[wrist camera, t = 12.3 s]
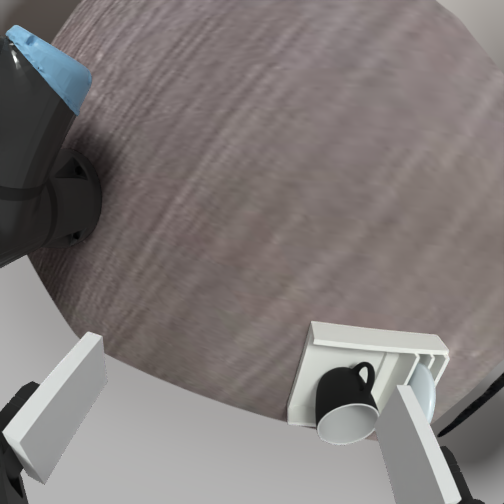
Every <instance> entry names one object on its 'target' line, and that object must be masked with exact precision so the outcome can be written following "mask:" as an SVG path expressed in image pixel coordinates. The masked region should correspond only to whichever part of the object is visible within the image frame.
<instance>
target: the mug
mask: <svg viewBox="0 0 504 504" xmlns="http://www.w3.org/2000/svg"><path fill="white" fill-rule="evenodd" d="M364 367H366V368H367V371H368V376H367V382H366V383H365V381H364V380H363V378H362V377H361V376H360V375H359V372H360V370H361V369H362V368H364ZM374 381H375V370H374V367H373V366H372V365H371V364H370V363H369V362H360V363H359V364H357V365H356V366H355V367H354V368H352V369H351V368H348V367H337V368H334V369H331V370H329V371H328V372H326V373H325V374H324V375H323V376H322V378H321V379H320V381H319V383H318V386H317V391H316V402H315V418H316V430H317V434H318V436H319V437H320V438H321V439H322V440H323V441H325V442H327V443H330V444H334V445H345V444H351V443H355V442H358V441H360V440H362V439H364V438H366V437H367V436H369V435H370V434H371V433H372V432H373V431H374V430H375V428H374V424H375V422H376V421H377V419H378V417H379V416H380V414H379V411H378V408H377V405H376V403H375V400H374V398H373V396H372V394H371V391H372V388H373V385H374Z"/></svg>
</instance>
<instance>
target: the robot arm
mask: <svg viewBox="0 0 504 504" xmlns="http://www.w3.org/2000/svg"><path fill="white" fill-rule="evenodd" d="M91 84H92V76H91V73H90V71H89V70H88V69H87V68H86V67H85V66H83V65H82V64H80V63H79V62H77V61H76V60H74V59H73V58H71V57H69V56H68V55H66V54H65V53H63V52H62V51H60V50H58V49H57V48H55V47H53V46H52V45H50V44H49V43H47V42H45V41H43V40H42V39H40V38H38V37H37V36H35V35H33V34H32V33H30V32H29V31H27V30H25V29H23V28H22V27H20V26H18V25H15V26H13V27H12V28H11V29H10V30H8V31H7V33H6V37H3V36H0V268H2V267H4V266H5V265H7V264H9V263H11V262H13V261H15V260H17V259H19V258H21V257H23V256H24V255H27V254H29V253H31V252H33V251H35V250H37V249H39V248H41V247H45V248H67V247H70V246H73V245H75V244H77V243H79V242H81V241H83V240H84V239H85V238H87V237H88V236H89V235H90V233H91V232H92V231H93V229H94V228H95V226H96V224H97V221H98V219H99V215H100V211H101V203H102V196H101V187H100V182H99V179H98V176H97V174H96V171H95V169H94V168H93V166H92V164H91V163H90V162H89V161H88V159H87V158H86V157H85V156H83V155H82V154H81V153H79V152H77V151H75V150H71V149H60V148H61V146H62V144H63V142H64V140H65V138H66V136H67V134H68V132H69V130H70V128H71V126H72V124H73V122H74V120H75V118H76V116H78V115H79V113H80V111H79V109H80V107H81V105H82V103H83V101H84V99H85V97H86V95H87V93H88V91H89V89H90V87H91ZM106 383H107V375H106V366H105V357H104V347H103V336H100V335H97V334H94V333H91V332H87V333H86V334H85V335H84V336H83V337H82V339H81V340H80V341H79V342H78V343H77V344H76V345H75V346H74V347H73V348H72V350H71V351H70V352H69V353H68V354H67V355H66V356H65V357H64V359H63V360H62V361H61V362H60V363H59V364H58V365H57V366H56V368H55V369H54V370H53V371H52V372H51V373H50V375H49V376H48V377H47V378H46V379H45V380H44V381H43V383H42V384H41V385H39V384H37V383H35V382H33V381H32V382H30V383H28V384H26V385H24V386H23V387H22V388H21V389H20V390H19V391H18V392H17V393H16V394H15V397H13V398H12V399H11V400H10V402H9V403H7V405H6V406H5V407H4V408H3V409H2V411H1V412H0V504H28V500H27V496H26V493H25V489H24V485H23V480H22V477H21V475H20V472H21V471H22V469H23V468H24V470H25V471H26V473H27V474H28V476H30V477H32V478H33V479H35V480H37V481H39V482H41V483H42V484H44V485H45V483H46V482H47V480H48V478H49V476H50V474H51V473H52V471H53V469H54V468H55V466H56V464H57V462H58V461H59V459H60V457H61V456H62V454H63V452H64V451H65V449H66V447H67V446H68V444H69V442H70V441H71V439H72V437H73V435H74V434H75V433H76V431H77V429H78V428H79V426H80V424H81V423H82V421H83V420H84V418H85V416H86V415H87V413H88V412H89V410H90V408H91V407H92V405H93V404H94V402H95V401H96V399H97V397H98V396H99V394H100V393H101V391H102V390H103V388H104V386H105V385H106ZM374 428H375V431H376V434H377V438H378V441H379V444H380V448H381V451H382V454H383V458H384V461H385V465H386V468H387V472H388V475H389V479H390V483H391V486H392V490H393V493H394V497H395V501H396V504H485V503H484V502H482V501H481V500H477V499H473V498H472V496H471V494H470V491H469V489H468V486H467V484H466V482H465V480H464V477H463V475H462V473H461V472H460V468H459V466H458V465H457V462H456V459H455V457H454V455H453V454H452V452H451V451H450V450H449V449H448V448H447V447H446V446H442V447H439V445H438V442H437V440H436V438H435V436H434V434H433V432H432V429H431V427H430V425H429V423H428V421H427V419H426V417H425V415H424V413H423V410H422V408H421V406H420V404H419V402H418V400H417V398H416V396H415V394H414V392H413V390H412V388H411V386H410V385H396V387H395V389H394V391H393V392H392V394H391V396H390V398H389V400H388V402H387V403H386V405H385V407H384V409H383V410H382V412H381V414H380V416H379V417H378V419H377V421H376V422H375V424H374ZM503 504H504V503H503Z"/></svg>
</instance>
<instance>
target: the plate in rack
mask: <svg viewBox="0 0 504 504" xmlns="http://www.w3.org/2000/svg"><path fill="white" fill-rule="evenodd" d="M407 385H410V386H411V388H412V390H413V392H414V394H415V396H416V398H417V400H418V402H419V404H420V406H421V408H422V410H423V413H424V415H425V417H426V419H427V421H428V423H429V424H430V422H431V419H432V416H433V413H434V408H435V397H436V393H435V384H434V379H433V376H432V374H431V372H430V370H429V369H428V367H427V366H426V365H424V364H423V363H417V365H416V367H415V369H414V371H413V374H412V376H411V378H410V380H409V382H408V384H407Z"/></svg>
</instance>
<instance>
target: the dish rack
mask: <svg viewBox="0 0 504 504" xmlns="http://www.w3.org/2000/svg"><path fill="white" fill-rule="evenodd" d="M448 353H449V350H448V348H447V347H446V346H445V344H444V343H443V342H442V340H441V339H440V338H439V337H438V335H435V334H423V333H412V332H401V331H391V330H381V329H372V328H363V327H355V326H347V325H339V324H331V323H323V322H316V321H311V323H310V327H309V331H308V335H307V338H306V342H305V345H304V349H303V353H302V356H301V360H300V363H299V367H298V370H297V373H296V377H295V380H294V383H293V387H292V390H291V393H290V396H289V400H288V403H287V424H289V425H299V426H311V427H316V418H315V402H316V391H317V386H318V383H319V381H320V379H321V378H322V376H323V375H324V374H325V373H326V372H328V371H329V370H331V369H334V368H337V367H348V368H351V369H352V368H354V367H355V366H356V365H357V364H359V363H360V362H369V363H370V364H371V365H372V366H373V367H374V370H375V381H374V385H373V388H372V391H371V394H372V396H373V398H374V400H375V403H376V405H377V408H378V411H379V414H381V412H382V410H383V409H384V407H385V405H386V403H387V402H388V400H389V398H390V396H391V394H392V392H393V391H394V389H395V387H396V385H407V384H408V382H409V380H410V378H411V376H412V374H413V371H414V369H415V367H416V365H417V363H423V364H424V365H426V366H427V367H428V369H429V370H430V372H431V374H432V376H433V379H434V384H435V387H436V385H437V383H438V381H439V379H440V377H441V375H442V373H443V372H444V370H445V368H446V366H447V364H448V361H449V359H450V358H449V357H448ZM359 375H360V376H361V377H362V378H363V380H364V381H365V383H366V382H367V376H368V371H367V368H366V367H364V368H362V369H361V370H360V372H359Z"/></svg>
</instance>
